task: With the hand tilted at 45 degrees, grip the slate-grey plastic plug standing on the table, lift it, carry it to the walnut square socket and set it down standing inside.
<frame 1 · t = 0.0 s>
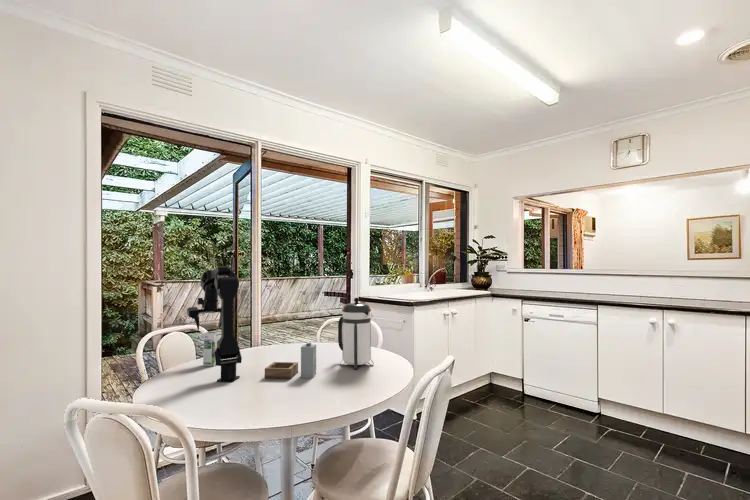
hand: (208, 328, 179), 15 cm above the table, tool pointing down, fingers open, 9 cm apart
plug: (308, 375, 155), on the table
syrup box: (212, 365, 173), on the table
socket: (281, 375, 155), on the table
coffee press: (354, 365, 171), on the table
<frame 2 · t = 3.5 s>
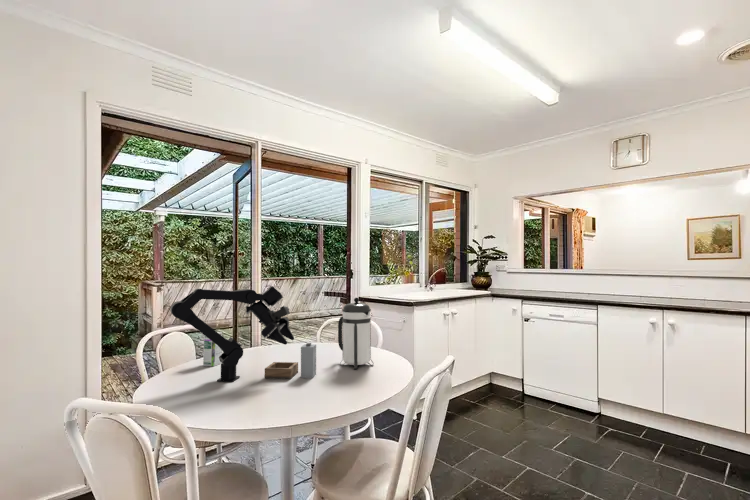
hand: (290, 341, 156), 14 cm above the table, tool tilted 45°, fingers open, 9 cm apart
nothing on the table moved.
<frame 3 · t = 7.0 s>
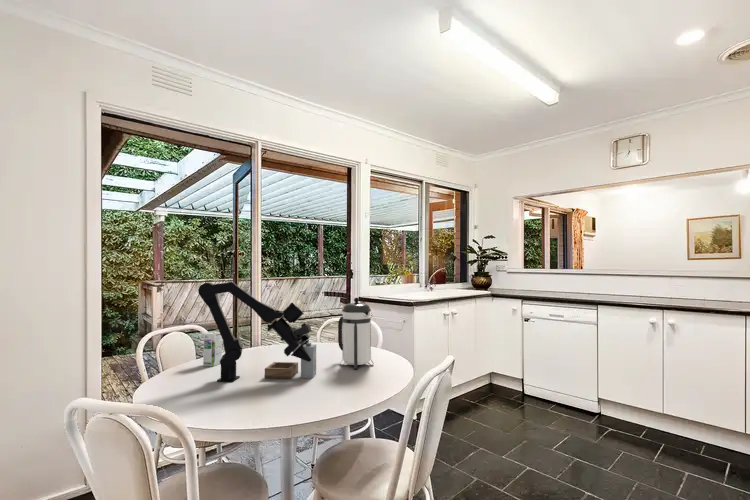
hand: (312, 359, 155), 7 cm above the table, tool tilted 45°, fingers closed on plug, 5 cm apart
plug: (308, 375, 155), on the table, touching gripper
everything else where it was.
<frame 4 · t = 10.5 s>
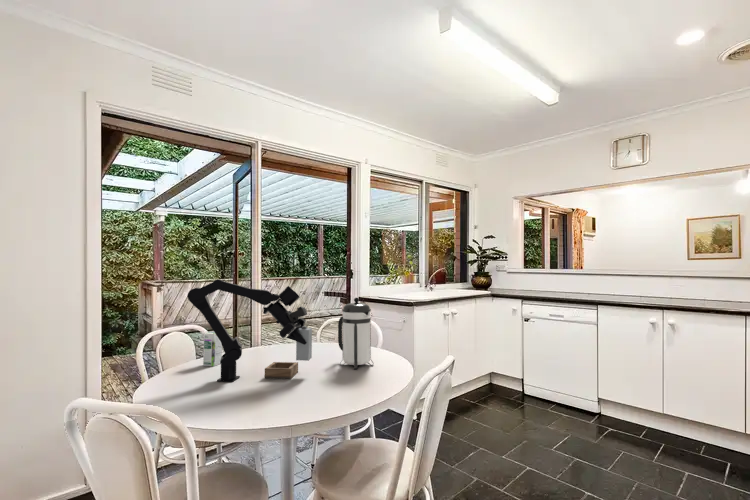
hand: (307, 342, 155), 13 cm above the table, tool tilted 45°, fingers closed on plug, 5 cm apart
plug: (304, 358, 155), point 7 cm above the table, touching gripper
everything else where it was.
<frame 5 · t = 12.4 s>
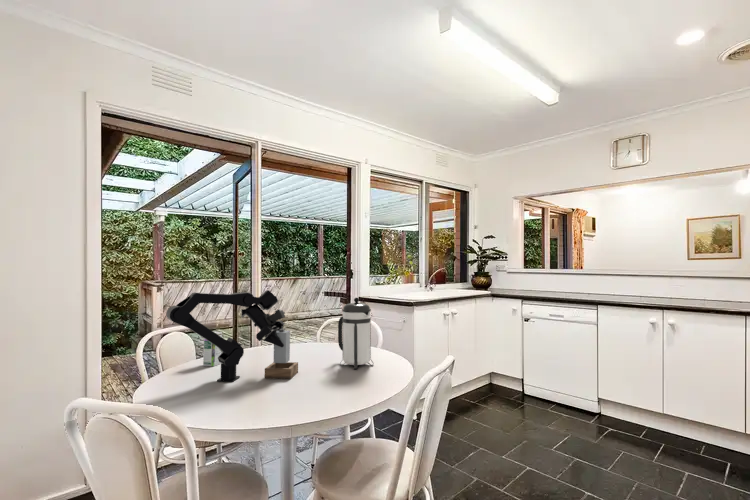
hand: (285, 345, 156), 12 cm above the table, tool tilted 45°, fingers closed on plug, 5 cm apart
plug: (281, 361, 156), point 6 cm above the table, touching gripper
everything else where it was.
when the fingers open (9 cm above the table, at t = 14.0 s): plug drops 1 cm, resting on socket.
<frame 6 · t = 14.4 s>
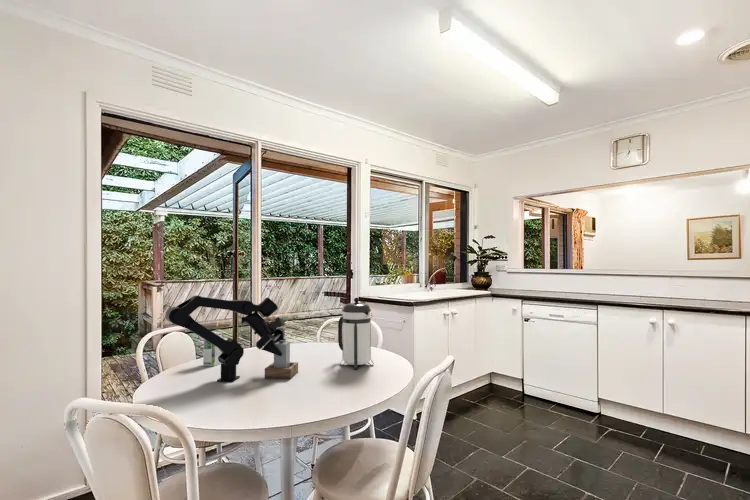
hand: (285, 352, 156), 9 cm above the table, tool tilted 45°, fingers open, 9 cm apart
plug: (281, 372, 155), point 1 cm above the table, touching socket
everything else where it was.
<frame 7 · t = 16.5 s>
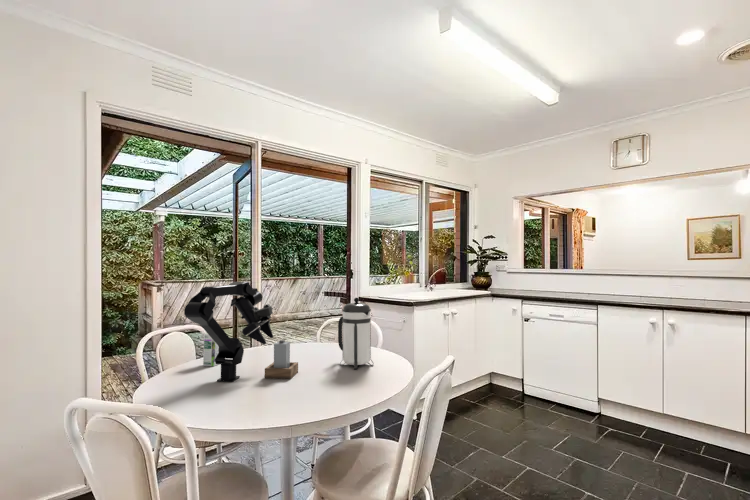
hand: (268, 340, 160), 13 cm above the table, tool tilted 35°, fingers open, 9 cm apart
nothing on the table moved.
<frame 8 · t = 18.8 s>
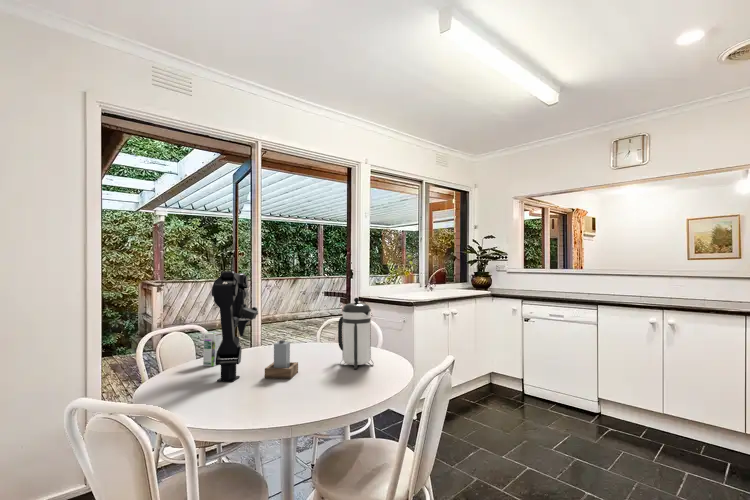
hand: (237, 338, 167), 13 cm above the table, tool pointing down, fingers open, 9 cm apart
nothing on the table moved.
at the end: plug 0.0 cm off-centre on the socket, point 1.0 cm above the socket's base; plug tilted 0°; the gripper is holding nothing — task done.
